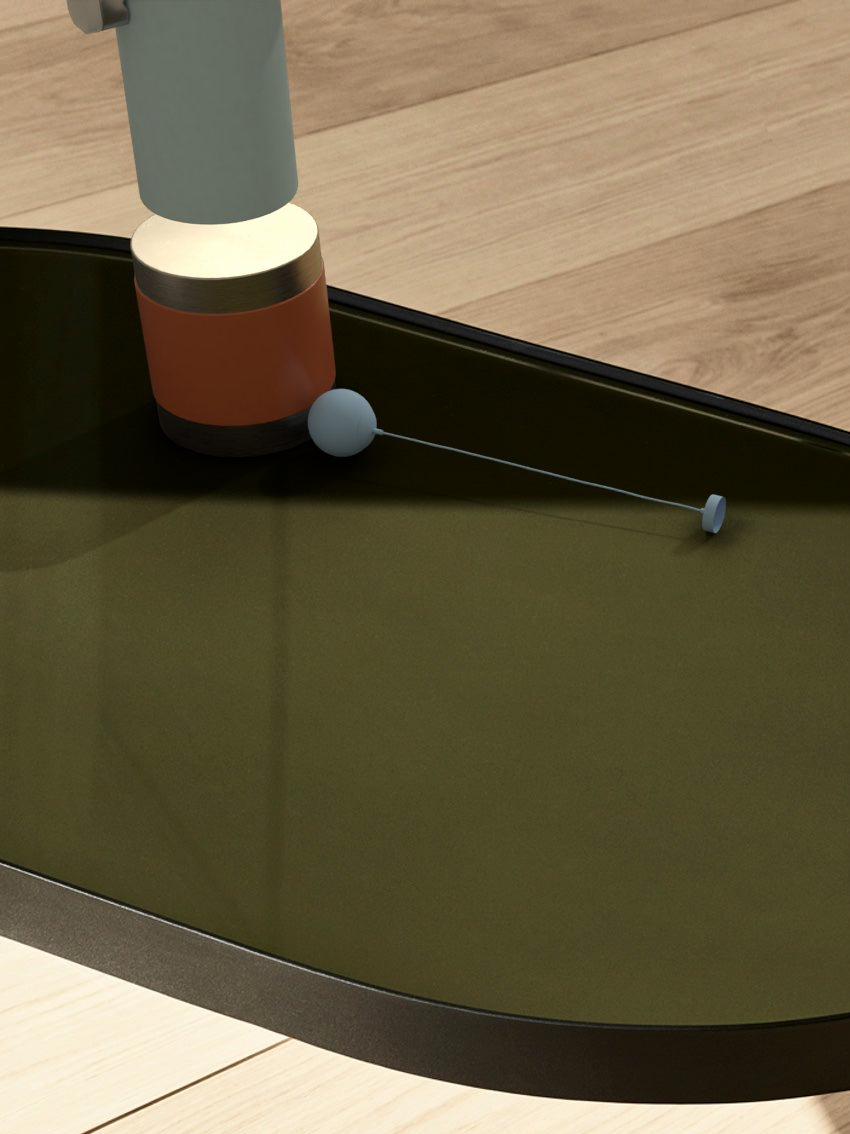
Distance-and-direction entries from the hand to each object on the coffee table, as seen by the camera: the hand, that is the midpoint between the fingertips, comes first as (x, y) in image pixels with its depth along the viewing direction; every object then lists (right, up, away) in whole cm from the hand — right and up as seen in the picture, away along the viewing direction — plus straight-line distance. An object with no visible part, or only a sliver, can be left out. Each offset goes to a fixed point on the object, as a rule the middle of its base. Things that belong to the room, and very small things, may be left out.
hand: (195, 4), depth 78 cm
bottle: (0, -5, +4) cm, 7 cm away
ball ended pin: (+9, -12, +26) cm, 31 cm away
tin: (-3, -8, +32) cm, 33 cm away
